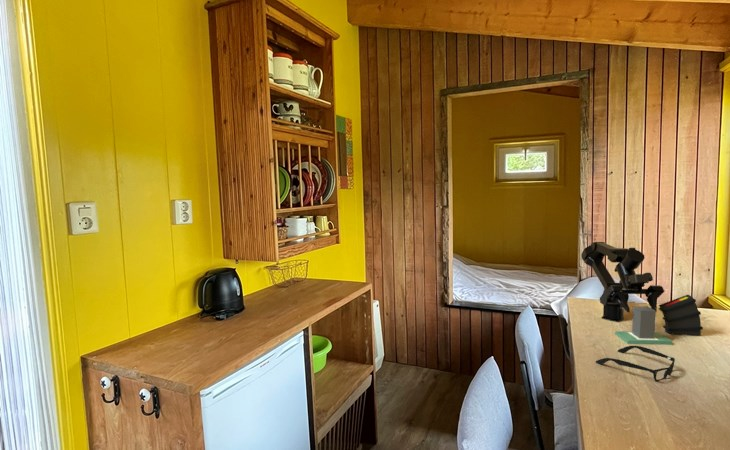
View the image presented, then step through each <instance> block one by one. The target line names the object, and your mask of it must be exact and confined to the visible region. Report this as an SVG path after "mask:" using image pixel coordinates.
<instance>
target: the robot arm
mask: <svg viewBox="0 0 730 450" xmlns="http://www.w3.org/2000/svg"><path fill="white" fill-rule="evenodd" d="M605 256H607V260H608V261H610V263H613V264H614V263H617V264H616V265H615V268H614V270H613V271H614V272H616V273H617V274H618V277H619V282H616V281H615V280H614V278H613V276H612V275H611V273H610V272H609V270H608V268H607V267H606V265H605V264H604V262H603V260H604V258H605ZM645 258H646V257H645V255H644V253H643V252H641V251H640V250H638V249H637V248H636V247H629V248H623V247H615V246H613V245H610V244H607V243H606V242H604V241H593V242H592V243H591V244H590V245H588V246H586V247H585V248H583V250H582V252H581V259H582V261H583V262H584V263H585V265H587V266H589V267H591V268H592V270H593V271H594V274H595V275H596V277H597V278H598V280H599V281H600V283H601V285H602V287H603V293H602V294H601V295H600V297H599V303H600V304H601V305H603V312H602V313H603V314H602V316H601V319H604V320H607V321H612V322H618V323H619V322H620V321H622V320H624V314H625V311H626V313H630V312H631V310H630V306H629V305H628V301H629V296H630V295H645V297H646V300H647V303H648V304H649V306H650V308H652V309H653V310H655V311H656V313H657V312H658V311H657V310H658V308H657V307H658V299H659V298H660V296H661V295H663V294H664V293H665V289H664V287H663V286H662V285H657V284H656V285H655V284H654V285H653V284H652V285H649V286H648V287H647V288H644V287H645V284H649V282H653V280H654V279H653V274H652V273H651V272H645V273H642V274H641V273H639V274H638V273H636V271H635V270H636V269H638V268H639V266H641V264H642V263H643V261H644V260H645Z"/></svg>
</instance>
